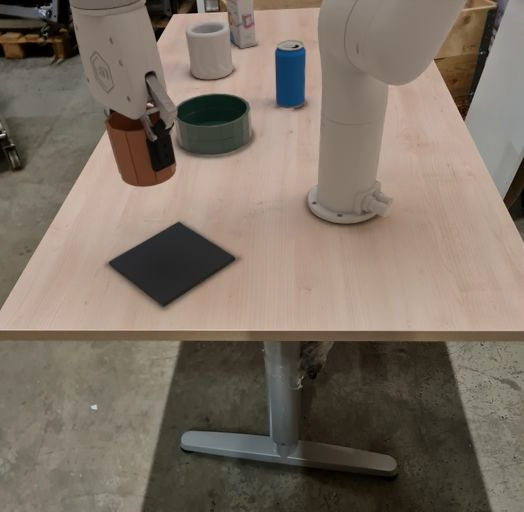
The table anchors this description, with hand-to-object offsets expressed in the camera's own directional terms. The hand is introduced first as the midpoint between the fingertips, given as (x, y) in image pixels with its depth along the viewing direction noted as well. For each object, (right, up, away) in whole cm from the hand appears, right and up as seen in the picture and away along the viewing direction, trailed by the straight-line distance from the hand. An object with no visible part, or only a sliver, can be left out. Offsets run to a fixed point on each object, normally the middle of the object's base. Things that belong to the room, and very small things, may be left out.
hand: (145, 155), depth 61 cm
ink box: (+9, +62, +75) cm, 98 cm away
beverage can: (+21, +31, +48) cm, 61 cm away
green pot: (+5, +19, +39) cm, 43 cm away
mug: (+2, +48, +63) cm, 79 cm away
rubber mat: (+1, -11, +13) cm, 17 cm away
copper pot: (0, -1, +2) cm, 2 cm away
